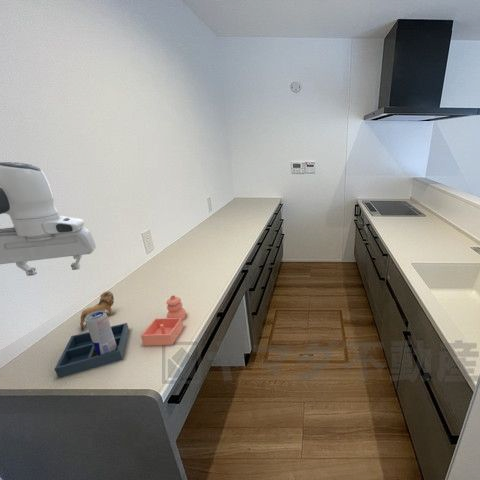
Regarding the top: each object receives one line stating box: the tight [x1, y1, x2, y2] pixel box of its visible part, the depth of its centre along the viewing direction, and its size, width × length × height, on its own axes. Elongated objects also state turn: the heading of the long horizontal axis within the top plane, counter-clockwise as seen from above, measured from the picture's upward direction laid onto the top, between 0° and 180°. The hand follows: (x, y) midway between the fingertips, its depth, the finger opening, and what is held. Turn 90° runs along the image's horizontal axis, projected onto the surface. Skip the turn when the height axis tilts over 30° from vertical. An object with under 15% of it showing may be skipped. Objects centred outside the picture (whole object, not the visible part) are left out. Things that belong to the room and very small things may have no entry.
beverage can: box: [84, 310, 117, 356], centre depth 82 cm, size 5×5×15 cm
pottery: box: [140, 294, 187, 346], centre depth 96 cm, size 18×10×10 cm, turn 3°
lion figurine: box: [79, 290, 115, 332], centre depth 100 cm, size 15×5×9 cm, turn 175°
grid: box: [54, 322, 130, 379], centre depth 85 cm, size 15×15×4 cm
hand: (55, 271), depth 75 cm, fingers open, 8 cm apart
